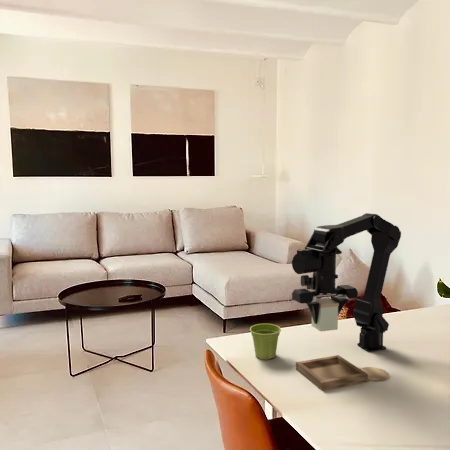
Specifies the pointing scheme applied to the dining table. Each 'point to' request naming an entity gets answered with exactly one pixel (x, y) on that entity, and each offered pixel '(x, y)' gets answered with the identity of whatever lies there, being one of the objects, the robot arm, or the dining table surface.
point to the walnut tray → (331, 372)
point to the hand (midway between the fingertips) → (324, 322)
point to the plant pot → (265, 340)
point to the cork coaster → (375, 373)
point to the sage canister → (327, 315)
